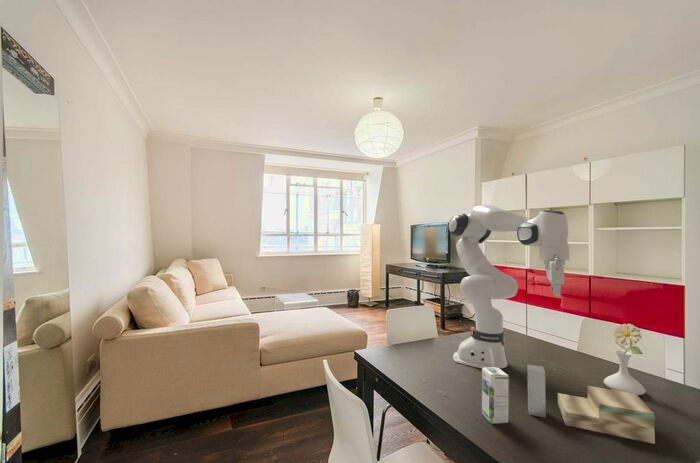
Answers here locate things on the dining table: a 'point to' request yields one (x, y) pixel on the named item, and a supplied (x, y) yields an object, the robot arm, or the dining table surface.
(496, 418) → the syrup box
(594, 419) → the step stand
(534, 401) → the grey column
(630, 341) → the flower in vase
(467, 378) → the dining table surface
